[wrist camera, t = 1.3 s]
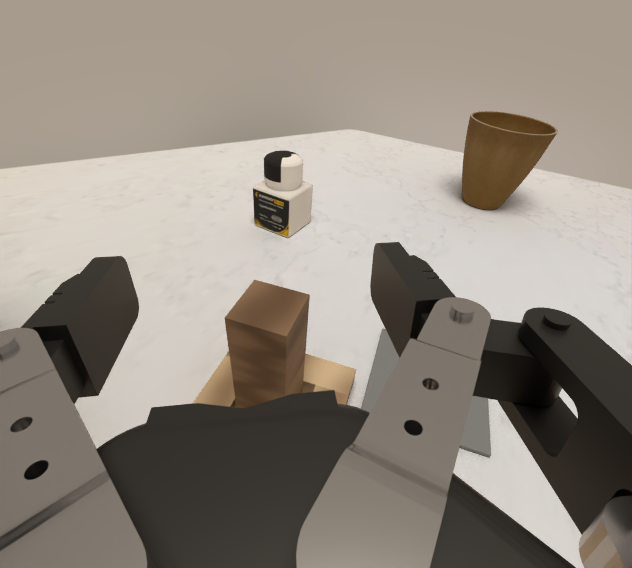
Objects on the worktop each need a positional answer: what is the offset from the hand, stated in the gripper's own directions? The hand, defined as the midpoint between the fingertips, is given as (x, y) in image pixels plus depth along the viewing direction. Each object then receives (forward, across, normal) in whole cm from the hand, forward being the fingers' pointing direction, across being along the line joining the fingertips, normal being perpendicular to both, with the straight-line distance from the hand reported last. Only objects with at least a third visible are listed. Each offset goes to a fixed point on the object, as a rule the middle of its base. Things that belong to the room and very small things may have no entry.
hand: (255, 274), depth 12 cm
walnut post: (+13, +1, +22) cm, 26 cm away
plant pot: (+57, -44, +18) cm, 75 cm away
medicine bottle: (+49, -2, +18) cm, 52 cm away
